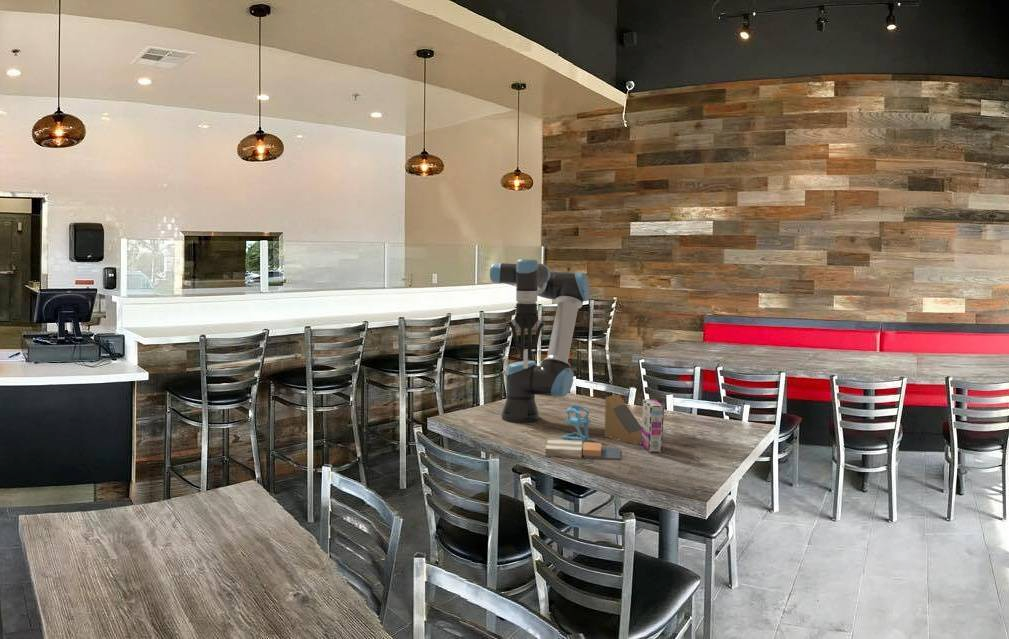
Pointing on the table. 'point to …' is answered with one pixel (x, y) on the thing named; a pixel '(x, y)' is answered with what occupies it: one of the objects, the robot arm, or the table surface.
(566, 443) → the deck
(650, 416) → the candy bar box
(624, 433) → the sandwich container
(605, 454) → the mat
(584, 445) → the orange flat block
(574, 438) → the chair
